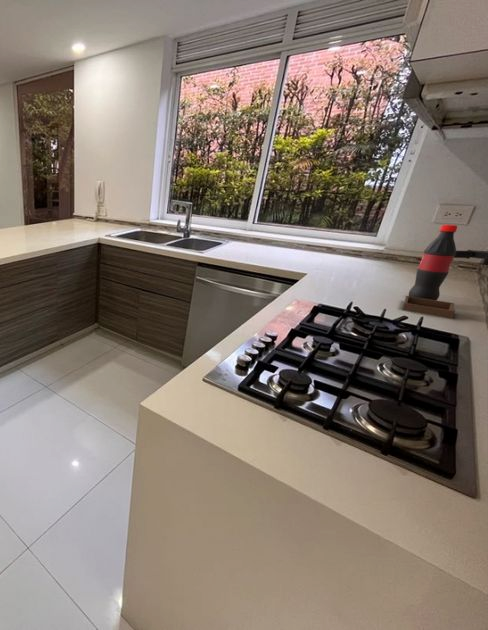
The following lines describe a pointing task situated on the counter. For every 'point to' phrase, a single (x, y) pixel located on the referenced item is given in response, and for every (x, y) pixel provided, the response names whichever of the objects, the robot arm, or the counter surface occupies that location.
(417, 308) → the bottle tray
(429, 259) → the cola bottle
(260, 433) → the counter surface
